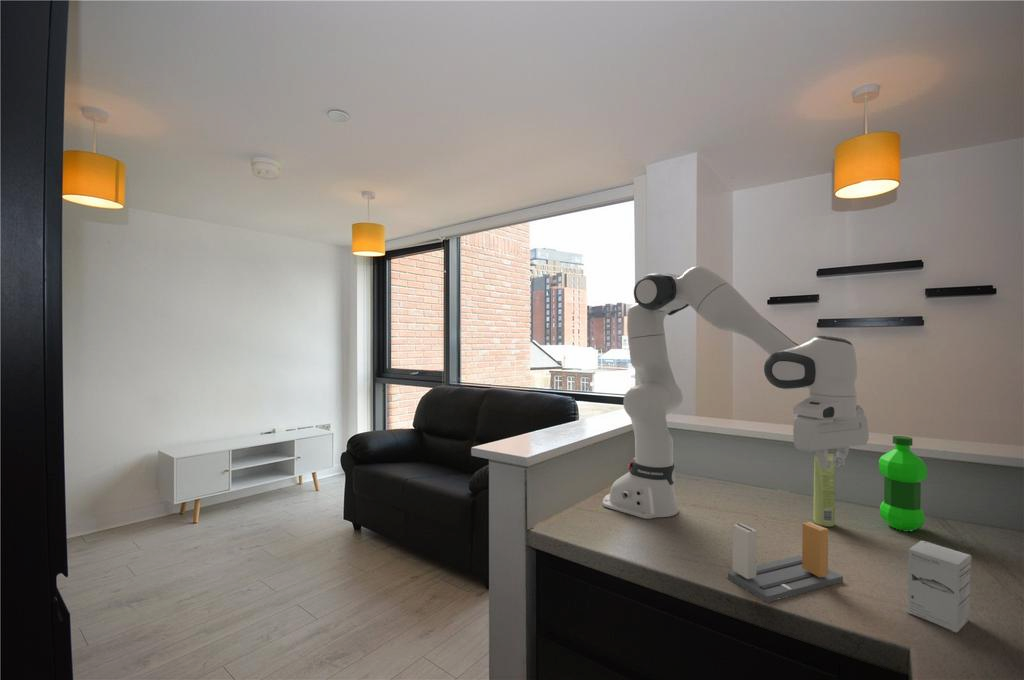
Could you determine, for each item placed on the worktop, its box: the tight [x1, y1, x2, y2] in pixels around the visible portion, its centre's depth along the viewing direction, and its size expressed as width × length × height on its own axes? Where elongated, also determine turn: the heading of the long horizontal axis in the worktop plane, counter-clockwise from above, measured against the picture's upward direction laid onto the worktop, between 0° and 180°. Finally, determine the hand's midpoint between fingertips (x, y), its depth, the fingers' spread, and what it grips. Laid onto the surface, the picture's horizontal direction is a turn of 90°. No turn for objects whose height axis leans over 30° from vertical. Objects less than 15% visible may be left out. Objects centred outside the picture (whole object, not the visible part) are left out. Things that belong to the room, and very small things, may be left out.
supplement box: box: [906, 540, 972, 633], centre depth 87 cm, size 7×7×13 cm
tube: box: [813, 453, 836, 527], centre depth 129 cm, size 6×5×20 cm
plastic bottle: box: [878, 435, 928, 532], centre depth 126 cm, size 10×10×25 cm
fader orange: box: [801, 521, 829, 577], centre depth 100 cm, size 2×4×10 cm, turn 20°
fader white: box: [732, 523, 758, 579], centre depth 99 cm, size 2×4×10 cm, turn 20°
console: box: [727, 554, 844, 603], centre depth 100 cm, size 22×10×1 cm, turn 110°
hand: (831, 466), depth 105 cm, fingers open, 3 cm apart
